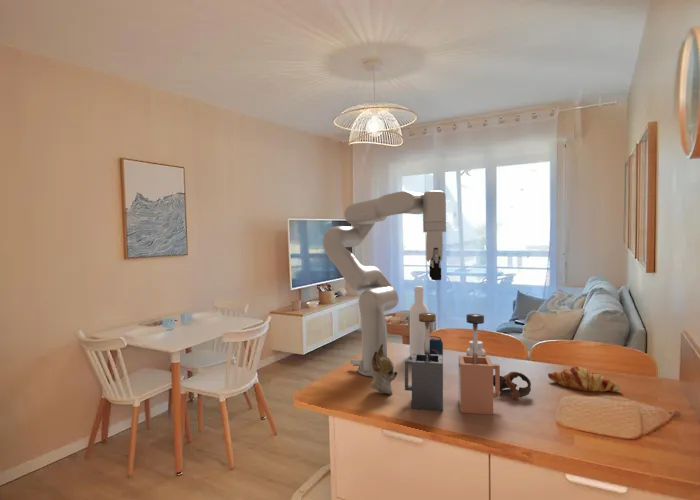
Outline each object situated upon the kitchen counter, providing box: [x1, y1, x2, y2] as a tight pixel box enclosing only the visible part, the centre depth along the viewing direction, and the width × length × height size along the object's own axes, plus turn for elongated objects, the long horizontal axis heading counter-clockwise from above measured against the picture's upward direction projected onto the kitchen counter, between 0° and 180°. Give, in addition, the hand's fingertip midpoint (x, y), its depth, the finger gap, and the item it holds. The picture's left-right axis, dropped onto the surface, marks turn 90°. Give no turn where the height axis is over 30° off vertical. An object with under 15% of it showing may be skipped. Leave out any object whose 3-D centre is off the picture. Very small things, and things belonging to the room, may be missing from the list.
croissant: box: [547, 366, 621, 393], centre depth 139 cm, size 21×10×8 cm, turn 62°
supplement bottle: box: [466, 340, 487, 357], centre depth 149 cm, size 7×7×13 cm
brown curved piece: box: [493, 371, 532, 401], centre depth 132 cm, size 12×10×8 cm
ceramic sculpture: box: [370, 344, 398, 395], centre depth 134 cm, size 11×9×15 cm
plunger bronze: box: [419, 312, 437, 362], centre depth 125 cm, size 6×6×18 cm
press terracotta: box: [458, 355, 501, 415], centre depth 123 cm, size 11×9×14 cm
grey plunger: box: [465, 313, 485, 364], centre depth 123 cm, size 6×6×18 cm
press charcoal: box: [404, 354, 444, 412], centre depth 126 cm, size 11×9×14 cm
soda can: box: [430, 335, 444, 360], centre depth 159 cm, size 7×7×12 cm
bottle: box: [409, 285, 429, 359], centre depth 174 cm, size 8×8×30 cm
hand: (435, 278), depth 139 cm, fingers open, 9 cm apart
